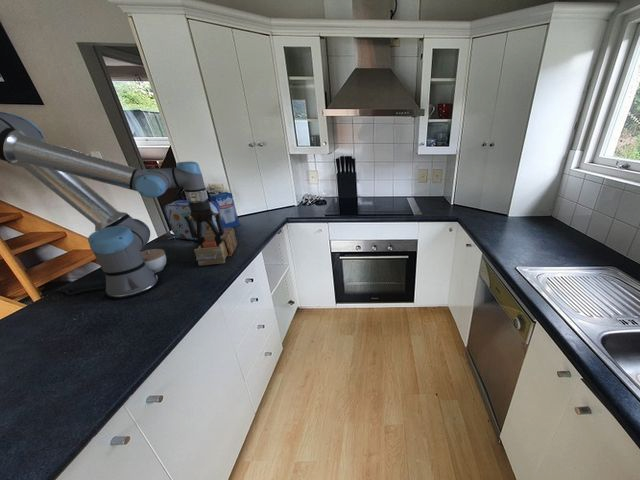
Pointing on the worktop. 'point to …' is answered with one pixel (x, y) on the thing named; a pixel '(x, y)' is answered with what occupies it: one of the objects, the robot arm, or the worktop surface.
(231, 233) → the cabinet
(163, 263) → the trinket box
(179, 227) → the lunch box
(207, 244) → the block
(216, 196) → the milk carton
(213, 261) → the drawer
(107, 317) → the worktop surface
